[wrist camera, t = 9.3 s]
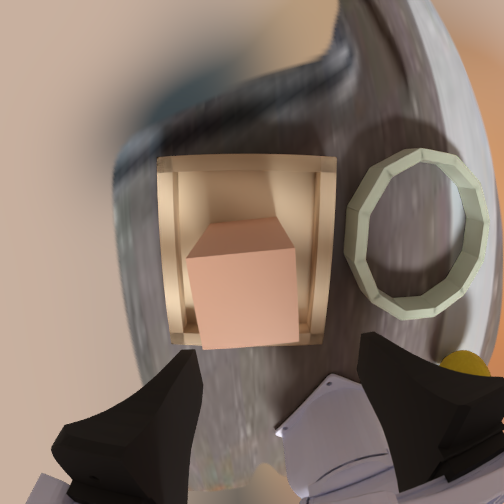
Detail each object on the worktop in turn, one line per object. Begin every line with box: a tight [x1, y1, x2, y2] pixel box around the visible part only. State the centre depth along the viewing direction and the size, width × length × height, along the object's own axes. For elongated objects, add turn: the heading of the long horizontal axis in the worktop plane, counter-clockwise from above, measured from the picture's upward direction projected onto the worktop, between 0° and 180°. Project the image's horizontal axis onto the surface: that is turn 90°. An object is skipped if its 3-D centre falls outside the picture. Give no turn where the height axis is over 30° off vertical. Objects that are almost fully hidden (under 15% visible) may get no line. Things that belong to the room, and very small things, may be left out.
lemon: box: [439, 350, 491, 376], centre depth 21 cm, size 6×6×8 cm
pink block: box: [186, 217, 299, 350], centre depth 16 cm, size 4×4×8 cm
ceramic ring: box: [343, 148, 490, 320], centre depth 19 cm, size 13×13×2 cm
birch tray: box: [157, 154, 337, 346], centre depth 20 cm, size 13×11×2 cm
